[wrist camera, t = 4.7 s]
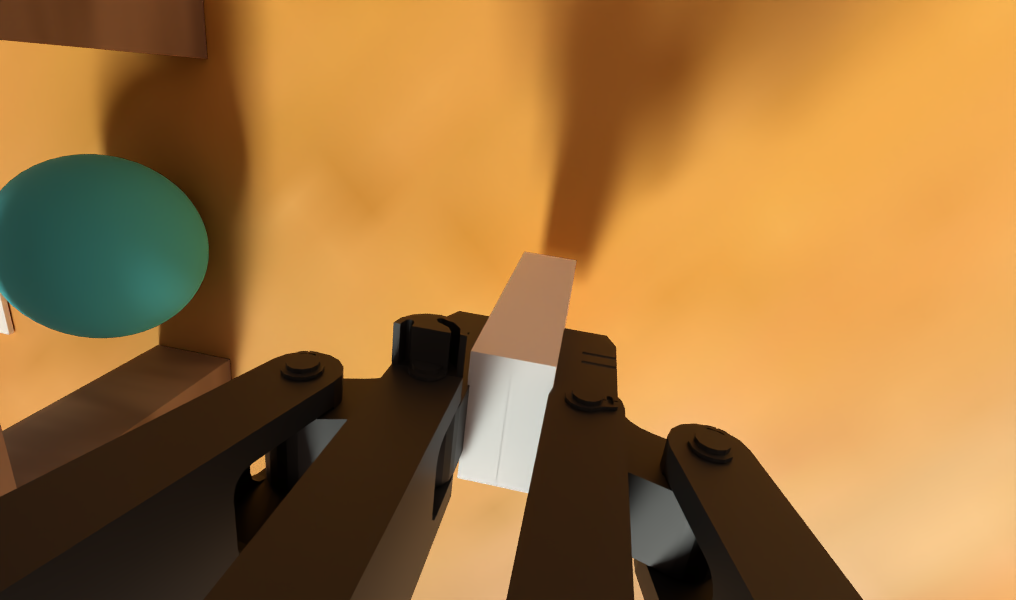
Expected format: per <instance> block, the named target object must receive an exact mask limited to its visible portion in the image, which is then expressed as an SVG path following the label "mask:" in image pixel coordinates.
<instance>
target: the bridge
mask: <svg viewBox="0 0 1016 600" xmlns="http://www.w3.org/2000/svg"><path fill="white" fill-rule="evenodd" d="M0 40H8V41H19V42H30V43H40V44H51V45H62V46H73V47H83V48H94V49H105V50H116V51H127V52H137V53H148V54H159V55H170V56H180V57H191V58H202V59H207V47H206V34H205V20H204V7H203V0H0ZM230 380H231V370H230V359H225V358H220V357H215V356H210V355H205V354H200V353H195V352H190V351H185V350H180V349H175V348H170V347H165V346H160V345H157V346H155V347H154V348H152V349H150V350H148V351H146V352H145V353H143V354H141V355H139V356H137V357H136V358H134V359H132V360H130V361H128V362H127V363H125V364H123V365H121V366H119V367H117V368H116V369H114V370H112V371H110V372H108V373H107V374H105V375H103V376H101V377H99V378H98V379H96V380H94V381H92V382H90V383H89V384H87V385H85V386H83V387H81V388H80V389H78V390H76V391H74V392H72V393H70V394H69V395H67V396H65V397H63V398H61V399H60V400H58V401H56V402H54V403H52V404H51V405H49V406H47V407H45V408H43V409H42V410H40V411H38V412H36V413H34V414H32V415H31V416H29V417H27V418H25V419H23V420H22V421H20V422H18V423H16V424H14V425H13V426H11V427H9V428H7V429H5V430H4V431H2V429H1V425H0V497H1V496H3V495H5V494H7V493H9V492H11V491H13V490H15V489H17V488H19V487H20V486H22V485H24V484H26V483H28V482H30V481H32V480H34V479H36V478H38V477H40V476H42V475H44V474H46V473H48V472H50V471H52V470H54V469H56V468H58V467H60V466H62V465H64V464H66V463H68V462H70V461H72V460H74V459H76V458H78V457H80V456H82V455H84V454H86V453H88V452H90V451H92V450H94V449H96V448H98V447H100V446H102V445H104V444H106V443H108V442H110V441H112V440H114V439H116V438H118V437H120V436H122V435H124V434H125V433H127V432H129V431H131V430H133V429H135V428H137V427H139V426H141V425H143V424H145V423H147V422H149V421H151V420H153V419H155V418H157V417H159V416H161V415H163V414H165V413H167V412H169V411H171V410H173V409H175V408H177V407H179V406H181V405H183V404H185V403H187V402H189V401H191V400H193V399H195V398H197V397H199V396H201V395H203V394H205V393H207V392H209V391H211V390H213V389H215V388H217V387H219V386H221V385H223V384H225V383H227V382H228V381H230Z"/></svg>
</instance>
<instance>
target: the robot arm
mask: <svg viewBox="0 0 1016 600" xmlns="http://www.w3.org/2000/svg"><path fill="white" fill-rule="evenodd" d="M576 262H577V260H572V259H566V258H560V257H554V256H548V255H542V254H536V253H529V252H524V253H523V255H522V257H521V259H520V261H519V262H518V264H517V266H516V268H515V270H514V272H513V274H512V275H511V277H510V279H509V281H508V283H507V285H506V287H505V288H504V290H503V292H502V294H501V296H500V298H499V300H498V301H497V303H496V305H495V307H494V309H493V311H492V313H491V314H490V316H484V315H478V314H473V313H467V312H462V311H458V312H456V313H454V314H452V315H449V316H447V317H446V316H442V315H435V314H414V315H410V316H406V317H402V318H400V319H398V320H397V321H395V322H394V326H393V347H392V364H391V366H390V367H389V368H388V369H387V371H386V372H385V373H384V374H383V376H382V377H381V378H375V379H343V366H342V364H341V363H340V361H339V360H338V359H336V358H334V357H332V356H330V355H327V354H322V353H318V352H313V351H310V352H308V351H299V352H297V353H291V354H285V355H283V356H280V357H277V358H274V359H272V360H270V361H268V362H266V363H264V364H262V365H260V366H258V367H256V368H254V369H252V370H250V371H248V372H246V373H244V374H242V375H240V376H238V377H236V378H234V379H232V380H230V381H228V382H227V383H225V384H223V385H221V386H219V387H217V388H215V389H213V390H211V391H209V392H207V393H205V394H203V395H201V396H199V397H197V398H195V399H193V400H191V401H189V402H187V403H185V404H183V405H181V406H179V407H177V408H175V409H173V410H171V411H169V412H167V413H165V414H163V415H161V416H159V417H157V418H155V419H153V420H151V421H149V422H147V423H145V424H143V425H141V426H139V427H137V428H135V429H133V430H131V431H129V432H127V433H125V434H124V435H122V436H120V437H118V438H116V439H114V440H112V441H110V442H108V443H106V444H104V445H102V446H100V447H98V448H96V449H94V450H92V451H90V452H88V453H86V454H84V455H82V456H80V457H78V458H76V459H74V460H72V461H70V462H68V463H66V464H64V465H62V466H60V467H58V468H56V469H54V470H52V471H50V472H48V473H46V474H44V475H42V476H40V477H38V478H36V479H34V480H32V481H30V482H28V483H26V484H24V485H22V486H20V487H19V488H17V489H15V490H13V491H11V492H9V493H7V494H5V495H3V496H1V497H0V600H411V597H412V595H413V592H414V590H415V587H416V585H417V582H418V579H419V577H420V574H421V572H422V569H423V567H424V564H425V561H426V559H427V556H428V554H429V551H430V549H431V546H432V543H433V541H434V538H435V536H436V533H437V531H438V528H439V525H440V523H441V520H442V518H443V515H444V513H445V510H446V507H447V505H448V502H449V500H450V497H451V490H452V480H453V473H454V471H455V468H456V466H457V463H458V461H459V468H458V477H457V478H460V479H465V480H470V481H474V482H479V483H484V484H488V485H493V486H498V487H502V488H507V489H512V490H516V491H521V492H525V493H528V497H527V502H526V507H525V512H524V516H523V521H522V526H521V531H520V536H519V541H518V546H517V551H516V555H515V560H514V565H513V570H512V575H511V580H510V585H509V590H508V594H507V599H506V600H634V587H633V567H632V558H634V566H635V573H636V576H637V579H638V582H639V585H640V588H641V591H642V594H643V597H644V600H863V599H862V598H861V596H860V595H859V594H858V592H857V591H856V590H855V588H854V587H853V586H852V584H851V583H850V582H849V580H848V579H847V578H846V576H845V575H844V574H843V572H842V571H841V570H840V568H839V567H838V566H837V564H836V563H835V562H834V561H833V559H832V558H831V557H830V555H829V554H828V553H827V551H826V550H825V549H824V547H823V546H822V545H821V543H820V542H819V541H818V539H817V538H816V537H815V535H814V534H813V533H812V531H811V530H810V529H809V527H808V526H807V525H806V524H805V522H804V521H803V520H802V518H801V517H800V516H799V514H798V513H797V512H796V510H795V509H794V508H793V506H792V505H791V504H790V502H789V501H788V500H787V498H786V497H785V496H784V494H783V493H782V492H781V490H780V489H779V488H778V487H777V485H776V484H775V483H774V481H773V480H772V479H771V477H770V476H769V475H768V473H767V472H766V471H765V469H764V468H763V467H762V465H761V464H760V463H759V461H758V460H757V459H756V457H755V456H754V455H753V453H752V452H751V451H750V450H749V449H748V448H747V447H746V446H745V445H744V444H743V443H742V442H741V441H740V440H738V439H736V438H735V437H733V436H731V435H730V434H728V433H727V432H725V431H723V430H721V429H716V427H712V426H708V425H699V424H681V425H679V426H676V427H674V428H672V429H671V431H670V432H669V434H668V436H667V439H665V438H662V437H660V436H657V435H655V434H652V433H650V432H648V431H646V430H643V429H641V428H639V427H638V426H636V425H635V424H633V423H632V422H630V421H629V420H628V419H627V418H626V417H625V408H624V405H623V403H622V401H621V400H620V399H619V398H618V394H617V369H616V368H617V363H616V346H615V345H614V344H613V343H612V342H611V340H610V339H609V338H608V337H607V336H605V335H599V334H594V333H588V332H582V331H577V330H571V329H566V328H565V325H566V319H567V314H568V308H569V302H570V296H571V290H572V285H573V279H574V273H575V267H576ZM264 455H265V462H266V468H265V469H263V470H262V471H261V472H259V473H258V474H256V475H253V476H251V474H250V465H251V464H252V463H253V462H255V461H256V460H258V459H259V458H261V457H262V456H264Z"/></svg>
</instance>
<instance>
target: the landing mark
mask: <svg viewBox="0 0 1016 600" xmlns="http://www.w3.org/2000/svg"><path fill="white" fill-rule="evenodd" d="M0 333H4V334H12V333H14V329H13V325H12V321H11V316H10V312H9V308H8V303H7V300H6V299H5V298H4V297H3V295H2V294H1V293H0Z"/></svg>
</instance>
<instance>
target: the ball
mask: <svg viewBox="0 0 1016 600" xmlns="http://www.w3.org/2000/svg"><path fill="white" fill-rule="evenodd" d="M208 260H209V244H208V237H207V233H206V229H205V226H204V223H203V221H202V219H201V217H200V214H199V213H198V211H197V209H196V208H195V206H194V205H193V203H192V202H191V200H190V199H189V198H188V197H187V196H186V195H185V193H184V192H183V191H182V190H180V189H179V188H178V187H177V186H176V185H175V184H174V183H172V182H171V181H170V180H168V179H167V178H166V177H164V176H163V175H161V174H159V173H158V172H156V171H154V170H152V169H150V168H148V167H146V166H144V165H141V164H139V163H137V162H133V161H130V160H127V159H124V158H119V157H114V156H109V155H98V154H78V155H70V156H63V157H59V158H55V159H51V160H47V161H45V162H42V163H39V164H37V165H34V166H32V167H30V168H29V169H27V170H25V171H23V172H21V173H20V174H19V175H17V176H16V177H15V178H13V179H12V180H10V181H9V182H8V183H7V184H6V185H5V186H4V187H3V188H2V189H1V190H0V293H1V294H2V295H3V297H4V298H5V299H6V300H7V301H8V302H9V303H10V304H11V305H12V306H13V307H15V308H16V309H17V310H18V311H20V312H21V313H22V314H24V315H25V316H27V317H29V318H30V319H32V320H34V321H35V322H37V323H39V324H42V325H44V326H46V327H48V328H50V329H53V330H56V331H59V332H62V333H66V334H70V335H75V336H80V337H89V338H113V337H122V336H128V335H133V334H136V333H140V332H143V331H146V330H149V329H151V328H154V327H156V326H158V325H160V324H162V323H164V322H166V321H167V320H169V319H170V318H172V317H173V316H175V315H176V314H177V313H178V312H180V311H181V310H182V309H183V308H184V307H185V306H186V305H187V304H188V303H189V302H190V300H191V299H192V298H193V297H194V295H195V294H196V292H197V291H198V289H199V287H200V285H201V283H202V281H203V279H204V276H205V273H206V270H207V266H208Z"/></svg>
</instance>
